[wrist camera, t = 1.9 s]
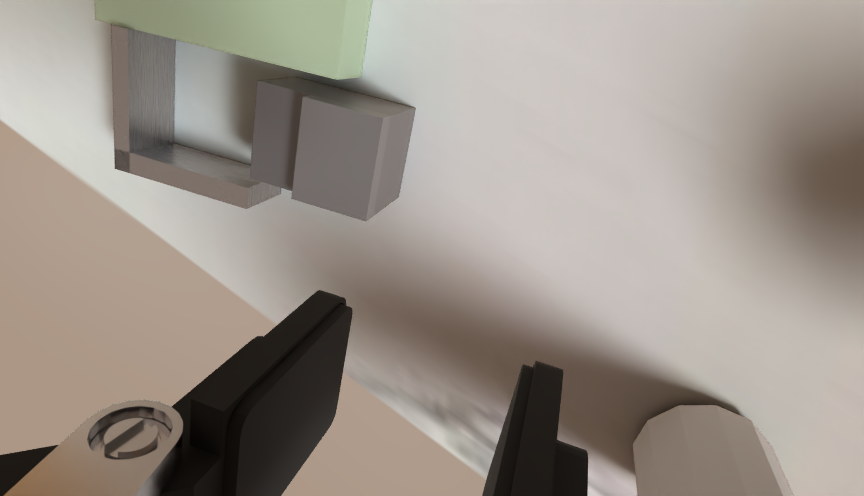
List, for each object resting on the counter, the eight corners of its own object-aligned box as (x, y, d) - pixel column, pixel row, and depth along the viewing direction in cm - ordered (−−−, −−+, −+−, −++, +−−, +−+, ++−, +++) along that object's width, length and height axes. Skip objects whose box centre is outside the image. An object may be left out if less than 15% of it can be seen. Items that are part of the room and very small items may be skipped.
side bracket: (160, 27, 31) (111, 25, 28) (293, 60, 30) (257, 61, 26) (159, 157, 34) (114, 168, 31) (280, 193, 33) (246, 208, 29)
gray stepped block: (298, 77, 30) (245, 81, 26) (416, 107, 29) (383, 118, 24) (288, 164, 32) (238, 182, 27) (399, 196, 31) (365, 221, 26)
